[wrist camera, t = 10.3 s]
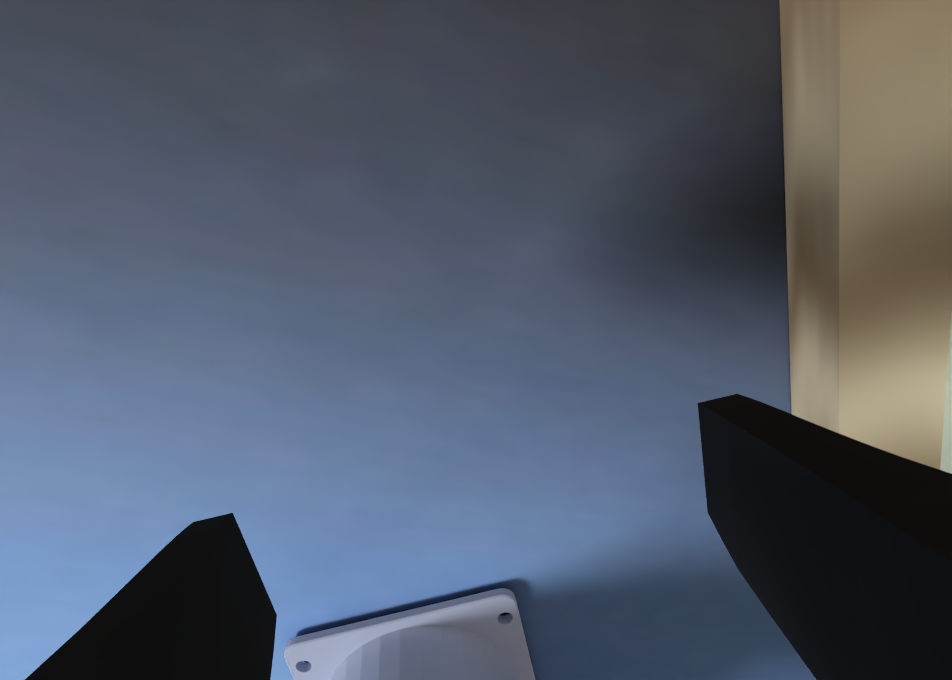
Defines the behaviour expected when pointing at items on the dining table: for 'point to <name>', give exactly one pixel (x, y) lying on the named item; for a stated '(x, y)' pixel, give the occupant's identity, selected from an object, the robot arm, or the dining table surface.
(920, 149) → the shelf board
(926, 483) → the robot arm
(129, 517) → the dining table surface
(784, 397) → the dining table surface
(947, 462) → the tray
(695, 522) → the dining table surface
